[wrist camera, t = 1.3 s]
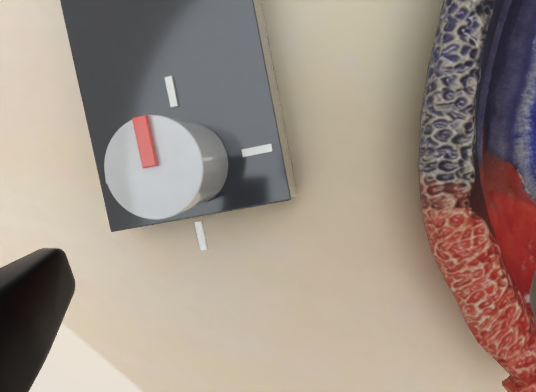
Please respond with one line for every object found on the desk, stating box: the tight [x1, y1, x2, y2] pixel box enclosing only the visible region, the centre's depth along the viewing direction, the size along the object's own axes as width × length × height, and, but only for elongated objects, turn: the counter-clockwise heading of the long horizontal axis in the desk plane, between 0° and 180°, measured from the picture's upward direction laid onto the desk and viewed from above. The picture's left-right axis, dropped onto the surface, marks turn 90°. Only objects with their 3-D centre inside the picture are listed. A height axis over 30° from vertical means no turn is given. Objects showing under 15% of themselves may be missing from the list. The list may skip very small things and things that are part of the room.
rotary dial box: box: [60, 0, 297, 251], centre depth 23 cm, size 18×9×3 cm, turn 11°
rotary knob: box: [104, 115, 228, 220], centre depth 19 cm, size 4×4×4 cm
